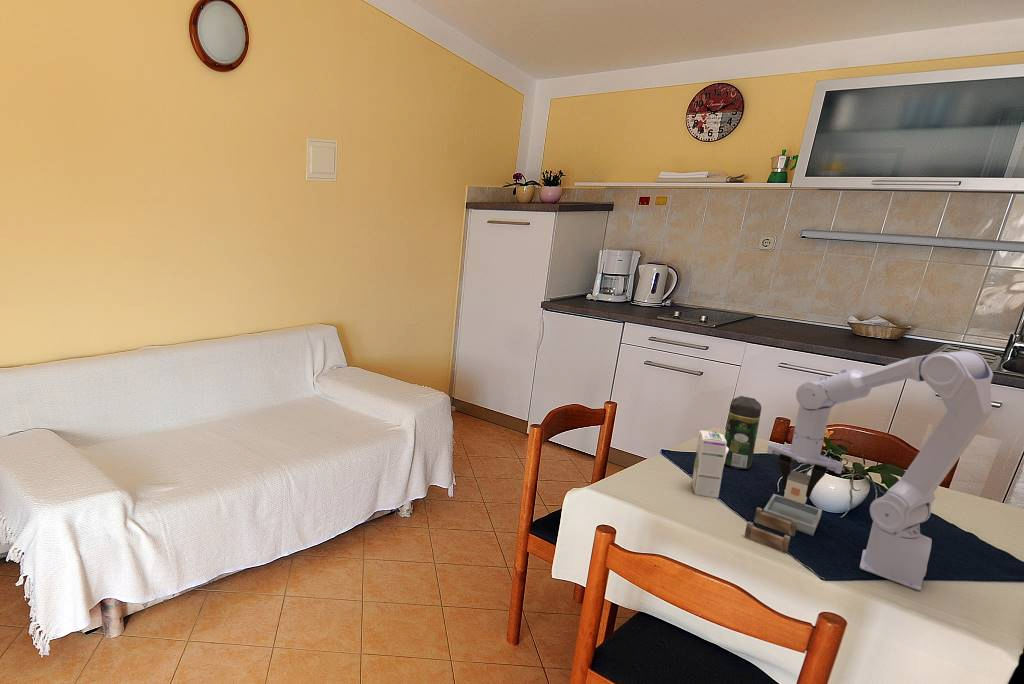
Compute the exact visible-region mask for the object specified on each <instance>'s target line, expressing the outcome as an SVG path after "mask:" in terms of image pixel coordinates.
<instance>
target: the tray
mask: <svg viewBox="0 0 1024 684" xmlns="http://www.w3.org/2000/svg"><path fill="white" fill-rule="evenodd" d="M783 497H784V496H782V495H779V494H777V493H776V494H775V493H773V494H772V496H771V497H770V499H769V500H768V502H767V504H766V505H765V506H764V508H763V509H762V512H764V513H767V514H770V515H773V516H775V517H778V518H781V519H784V520H787V521H790V522H792V520H796V521H798V523H797V527H796V531H798V532H801V533H804V534H806V535H808V536H811V537H812V536H813V537H814V535H815V532H816V530H817V528H818V525H819V523H820V520H821V517H822V513H823V509H821V508H818V507H814V506H812V505H809V504H806V503H805V505H804V507H800V506H797V505H794V504H791V503H788V502H785V501H783Z"/></svg>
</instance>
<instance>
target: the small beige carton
mask: <svg viewBox="0 0 1024 684" xmlns="http://www.w3.org/2000/svg"><path fill="white" fill-rule="evenodd" d="M810 478H811V474H806V473H803V472H799V471H796V470H793V469H791V472H790V473H789V475H788V478H787V484H786V489H785V490H784V495H783V496H782V497H783V501H785V502H788V503H791V504H794V505H797V506H800V507H804V505H805V504H806V502H807V500H808V497H806V494H807V490H808V487H809V483H810Z"/></svg>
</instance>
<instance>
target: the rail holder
mask: <svg viewBox="0 0 1024 684" xmlns="http://www.w3.org/2000/svg"><path fill="white" fill-rule="evenodd" d="M754 523H756V524H758V525H761V526H763V527H767V528H769V529H773V530H774V531H776V532H777V531H778V532H780V533H783V534H784V536H780V535H778V534H775V533H772V532H770V531H768V530H764V529H762V528H759V527H756V526H754ZM797 523H798V521H796V520H792V522H790V521H787V520H784V519H781V518H778V517H775V516H773V515H770V514H767V513H764V512H763V508H761V507H758V506H757V507H756V509H755V515H754V519H753V522H751V521H747V523H746V527H745V531H744V536H743V537H744V538H745V539H748V540H751V541H754V542H756V543H759V544H762V545H765V546H767V547H770V548H772V549H775V550H777V551H780V552H782V553H785V554H787V553H788V549H789V544H790V542H791V541H790V540H791V537H795V536H796V531H797V530H796V527H797Z"/></svg>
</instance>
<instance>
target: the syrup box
mask: <svg viewBox="0 0 1024 684" xmlns="http://www.w3.org/2000/svg"><path fill="white" fill-rule="evenodd" d="M726 445H727V441H726V439H725V434H724V433H722V432H719V433H718V431H711V430H699V432H698V438H697V445H696V451H695V458H694V465H693V473H692V480H691V487H692V489H693V490H692V491H693V493H694V495H697V496H702V497H708V498H713V499H714V498H715V499H718V498H719V495H720V490H721V484H722V479H723V470H724V467H723V465H725V464H724V458H725V451H726Z"/></svg>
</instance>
